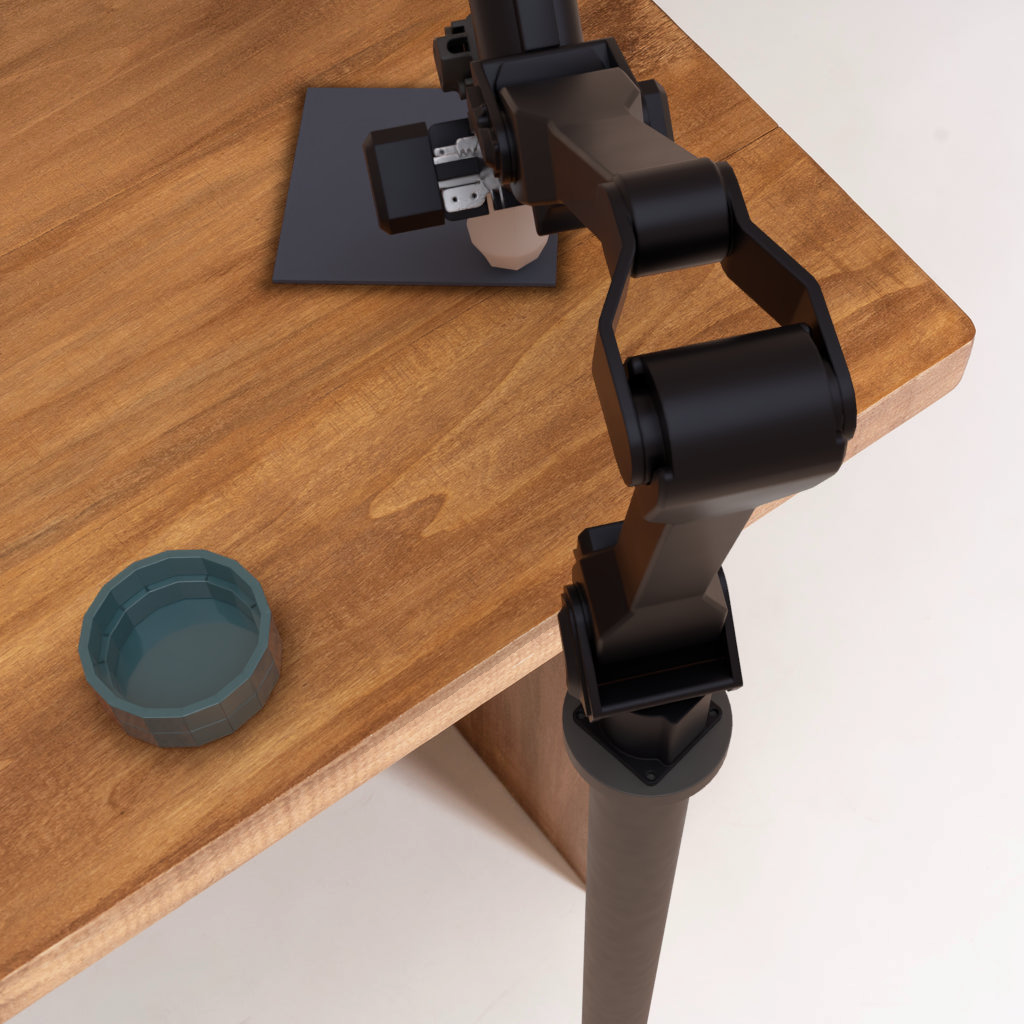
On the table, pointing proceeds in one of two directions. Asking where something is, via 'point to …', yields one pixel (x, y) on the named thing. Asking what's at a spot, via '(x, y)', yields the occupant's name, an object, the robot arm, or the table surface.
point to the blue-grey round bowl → (181, 648)
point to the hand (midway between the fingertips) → (503, 165)
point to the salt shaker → (507, 236)
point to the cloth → (350, 206)
